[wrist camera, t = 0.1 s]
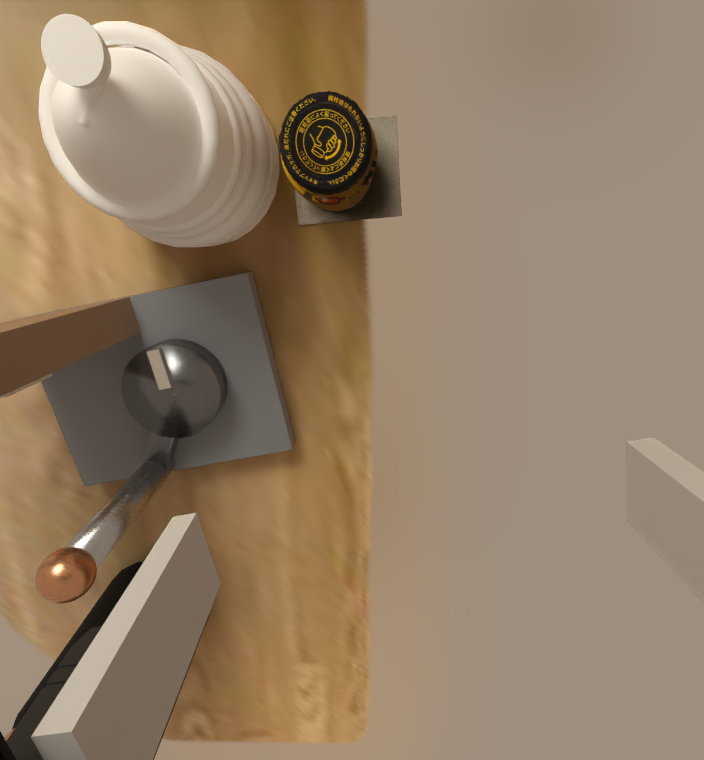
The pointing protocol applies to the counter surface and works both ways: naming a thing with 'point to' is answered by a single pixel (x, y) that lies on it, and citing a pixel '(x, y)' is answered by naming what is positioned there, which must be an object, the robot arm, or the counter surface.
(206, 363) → the ball top joystick
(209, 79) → the honey pot
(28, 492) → the counter surface
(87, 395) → the stand
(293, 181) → the condiment
